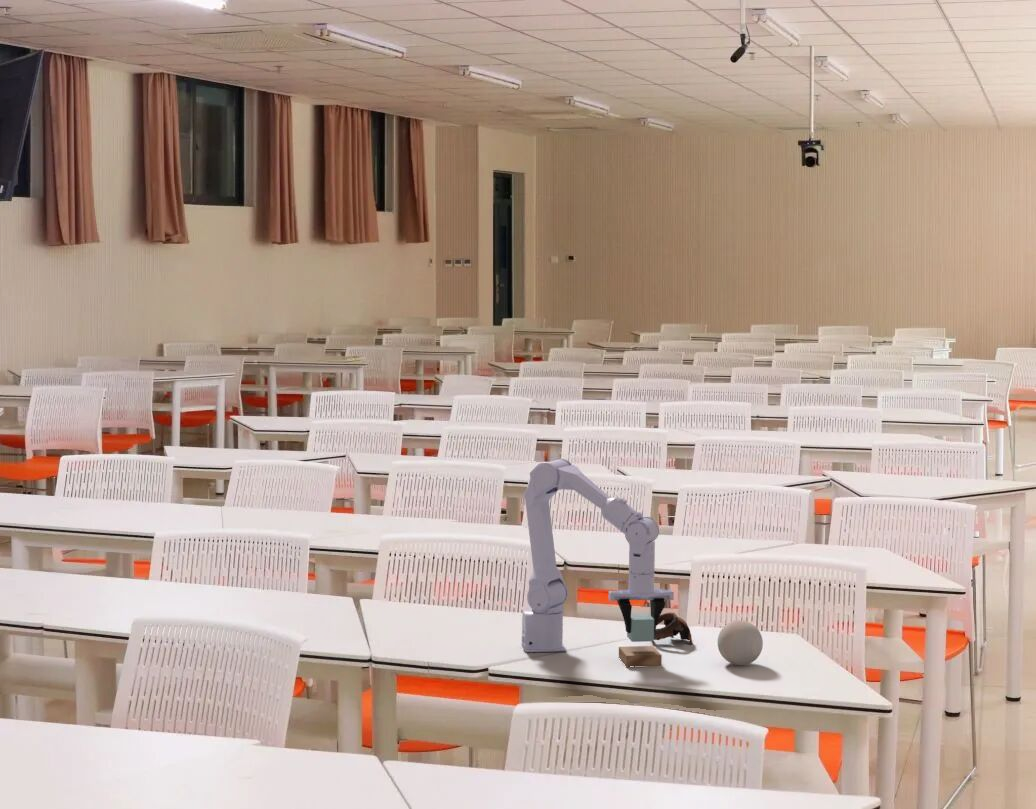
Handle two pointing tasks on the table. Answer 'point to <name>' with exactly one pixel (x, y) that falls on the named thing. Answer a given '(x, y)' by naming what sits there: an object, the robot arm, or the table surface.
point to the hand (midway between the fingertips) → (640, 631)
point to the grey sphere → (740, 642)
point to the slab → (640, 656)
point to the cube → (641, 628)
